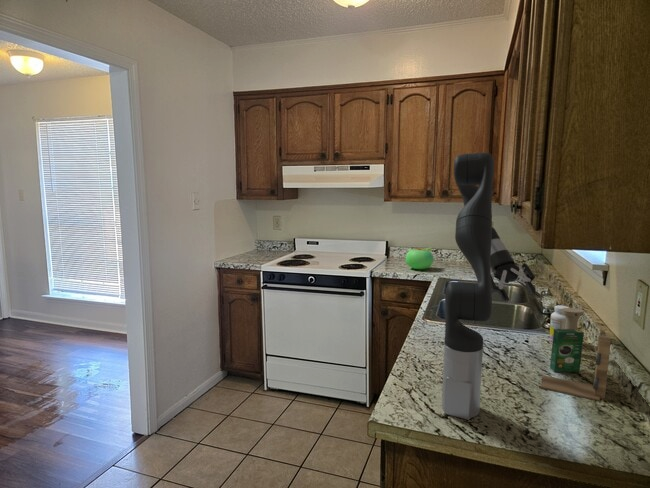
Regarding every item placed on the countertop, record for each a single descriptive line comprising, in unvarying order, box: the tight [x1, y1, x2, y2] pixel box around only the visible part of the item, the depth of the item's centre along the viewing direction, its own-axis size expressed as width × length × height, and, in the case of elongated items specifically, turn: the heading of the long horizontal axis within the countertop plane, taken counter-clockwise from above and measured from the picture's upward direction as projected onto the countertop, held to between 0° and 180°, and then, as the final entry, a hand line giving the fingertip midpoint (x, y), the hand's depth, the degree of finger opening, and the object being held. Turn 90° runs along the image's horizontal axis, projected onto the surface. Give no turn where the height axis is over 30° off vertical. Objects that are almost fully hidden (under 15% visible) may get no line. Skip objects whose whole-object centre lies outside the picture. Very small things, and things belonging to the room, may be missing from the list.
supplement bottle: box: [549, 304, 570, 343], centre depth 150 cm, size 7×7×13 cm
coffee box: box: [549, 328, 585, 373], centre depth 126 cm, size 8×3×13 cm, turn 89°
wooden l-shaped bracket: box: [540, 328, 611, 402], centre depth 117 cm, size 12×15×16 cm
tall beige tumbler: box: [561, 307, 585, 329], centre depth 139 cm, size 5×6×15 cm
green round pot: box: [405, 247, 435, 270], centre depth 273 cm, size 18×17×15 cm
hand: (520, 297), depth 131 cm, fingers open, 8 cm apart
